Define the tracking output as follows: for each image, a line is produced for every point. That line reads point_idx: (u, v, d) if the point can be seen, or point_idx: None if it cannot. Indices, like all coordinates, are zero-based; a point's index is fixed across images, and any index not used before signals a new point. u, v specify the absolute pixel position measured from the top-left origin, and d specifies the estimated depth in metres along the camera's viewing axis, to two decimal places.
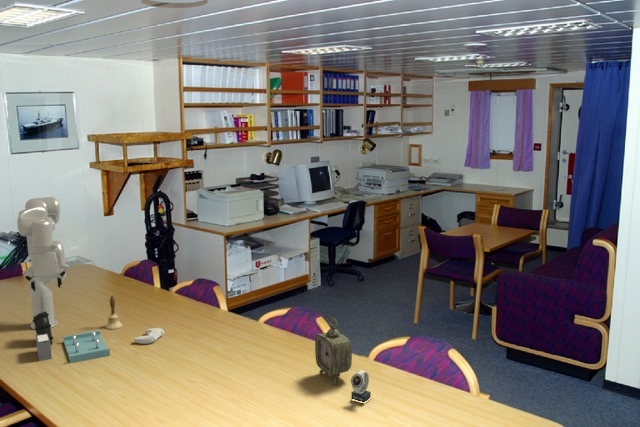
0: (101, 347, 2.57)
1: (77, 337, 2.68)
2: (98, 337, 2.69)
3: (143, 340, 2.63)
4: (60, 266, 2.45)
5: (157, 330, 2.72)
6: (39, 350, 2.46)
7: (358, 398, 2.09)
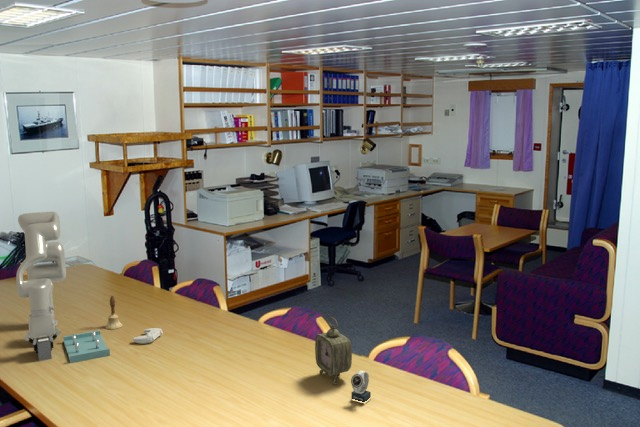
0: (101, 347, 2.57)
1: (77, 337, 2.68)
2: (98, 337, 2.69)
3: (142, 340, 2.63)
4: (55, 329, 2.53)
5: (155, 330, 2.73)
6: (39, 350, 2.46)
7: (358, 398, 2.09)
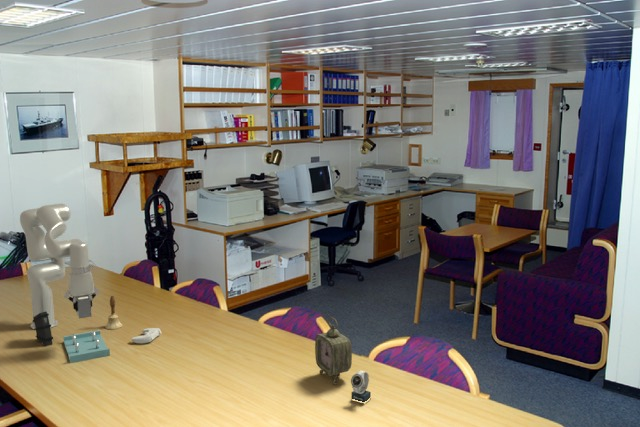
0: (101, 347, 2.57)
1: (77, 337, 2.68)
2: (98, 337, 2.69)
3: (140, 340, 2.63)
4: (94, 288, 2.56)
5: (154, 330, 2.73)
6: (79, 307, 2.49)
7: (358, 398, 2.09)
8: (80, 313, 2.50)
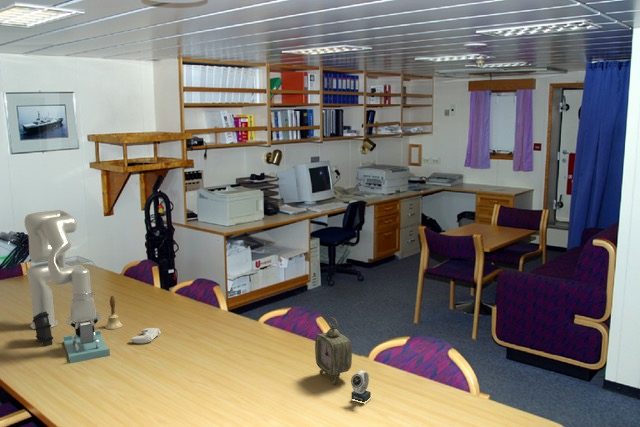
0: (101, 347, 2.57)
1: (77, 337, 2.68)
2: (98, 337, 2.69)
3: (140, 340, 2.63)
4: (96, 313, 2.58)
5: (153, 329, 2.73)
6: (81, 333, 2.51)
7: (358, 398, 2.09)
8: (82, 339, 2.52)
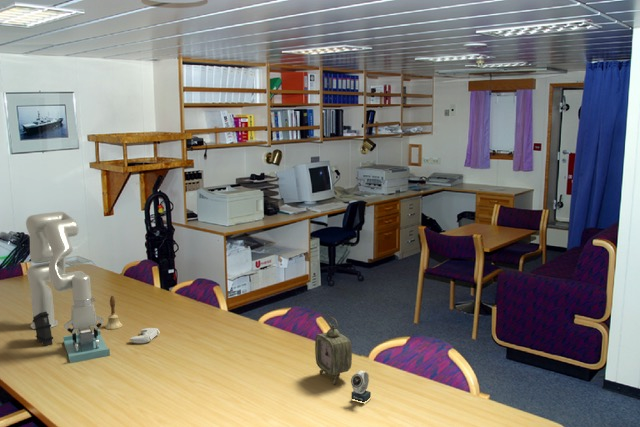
0: (101, 347, 2.57)
1: (77, 337, 2.68)
2: (98, 337, 2.69)
3: (139, 340, 2.63)
4: (97, 318, 2.59)
5: (152, 329, 2.73)
6: (82, 341, 2.52)
7: (358, 398, 2.09)
8: (82, 347, 2.52)
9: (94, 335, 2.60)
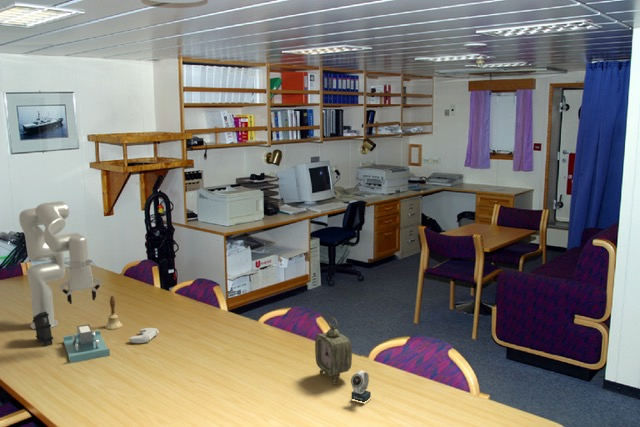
0: (101, 347, 2.57)
1: (77, 337, 2.68)
2: (98, 337, 2.69)
3: (138, 340, 2.63)
4: (95, 280, 2.56)
5: (151, 329, 2.73)
6: (82, 341, 2.52)
7: (358, 398, 2.09)
8: (82, 347, 2.52)
9: (92, 297, 2.57)
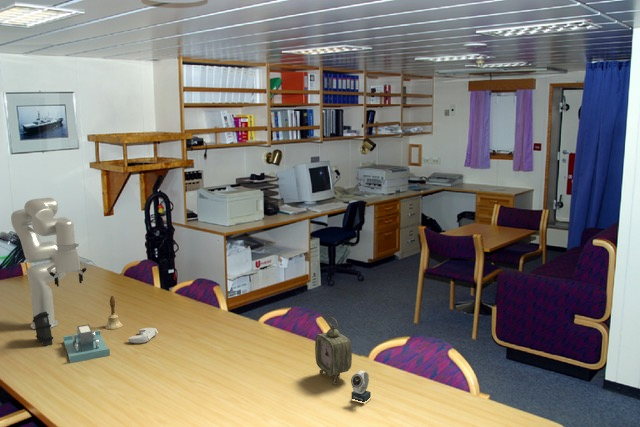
0: (101, 347, 2.57)
1: (77, 337, 2.68)
2: (98, 337, 2.69)
3: (137, 340, 2.64)
4: (81, 263, 2.62)
5: (150, 329, 2.73)
6: (82, 341, 2.52)
7: (358, 398, 2.09)
8: (82, 347, 2.52)
9: (79, 280, 2.63)
